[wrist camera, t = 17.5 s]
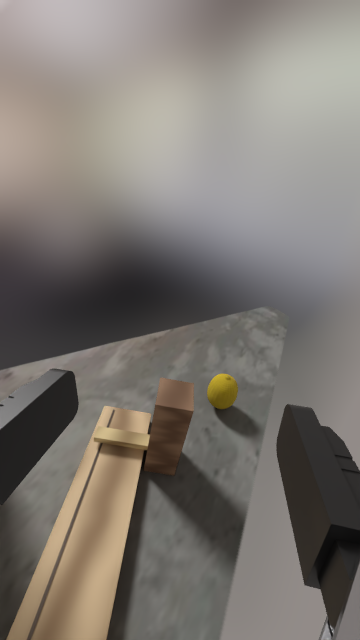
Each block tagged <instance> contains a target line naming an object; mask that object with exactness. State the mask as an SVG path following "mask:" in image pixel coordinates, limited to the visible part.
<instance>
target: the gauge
mask: <svg viewBox="0 0 360 640" xmlns="http://www.w3.org/2000/svg"><path fill="white" fill-rule="evenodd" d="M193 409H194V383H188V382H183V381H177V380H171V379H165V378H160V383H159V388H158V394H157V399H156V404H155V410H154V415H153V421H152V427H151V432H150V435H149V434H143V433H137V432H131V431H125V430H119V429H113V428H107V427H101V426H98V428H97V431H96V433H95V435H94V442H99V443H105V444H111V445H118V446H124V447H130V448H136V449H142V450H147V455H146V460H145V466H144V471H148V472H154V473H161V474H167V475H173V476H174V475H175V471H176V468H177V465H178V461H179V458H180V455H181V451H182V448H183V445H184V441H185V438H186V435H187V431H188V428H189V424H190V421H191V418H192V414H193Z"/></svg>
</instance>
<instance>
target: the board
mask: <svg viewBox="0 0 360 640" xmlns="http://www.w3.org/2000/svg"><path fill="white" fill-rule="evenodd" d="M150 418H151V414H150V413H144V412H138V411H132V410H126V409H120V408H115V407H109V406H104V409H103V411H102V413H101V416H100V418H99V421H98V423H97V425H96V428H95V430H94V432H93V435H92V437H91V440H90V442H89V444H88V447H87V449H86V451H85V454H84V456H83V459H82V461H81V463H80V466H79V468H78V470H77V473H76V475H75V478H74V480H73V482H72V485H71V487H70V489H69V492H68V494H67V497H66V499H65V501H64V504H63V506H62V508H61V511H60V513H59V516H58V518H57V520H56V523H55V525H54V527H53V530H52V532H51V535H50V537H49V539H48V542H47V544H46V546H45V549H44V551H43V554H42V556H41V558H40V561H39V563H38V565H37V568H36V570H35V573H34V575H33V577H32V580H31V582H30V584H29V587H28V589H27V592H26V594H25V596H24V599H23V601H22V603H21V606H20V608H19V611H18V613H17V615H16V618H15V620H14V622H13V625H12V627H11V630H10V632H9V634H8V637H7V639H6V640H107V635H108V630H109V625H110V620H111V615H112V610H113V605H114V600H115V595H116V590H117V585H118V580H119V575H120V570H121V565H122V559H123V554H124V549H125V544H126V539H127V534H128V529H129V524H130V519H131V514H132V509H133V504H134V499H135V494H136V489H137V484H138V479H139V474H140V469H141V464H142V459H143V454H144V450H142V449H136V448H130V447H124V446H118V445H111V444H105V443H99V442H94V435H95V433H96V431H97V428H98V426H101V427H107V428H113V429H119V430H125V431H131V432H137V433H143V434H148V429H149V423H150Z"/></svg>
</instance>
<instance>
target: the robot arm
mask: <svg viewBox="0 0 360 640" xmlns="http://www.w3.org/2000/svg"><path fill="white" fill-rule="evenodd" d="M77 410H78V396H77V389H76V381H75V375H74V373H73V372H72V371H67V370H60V369H50V370H49V371H47V372H46V373H45V374H44V375H42V376H41V377H40V378H38V379H36V380H34V381H32V382H30V383H28V384H25V385H23V386H21V387H20V388H19V389H17V390H16V391H15V392H13V393H12V394H11V395H9V397H8V398H5V399H4V400H3V401H1V402H0V504H1V505H2V504H3V503H4V502H5V501H6V500H7V498H8V497H9V496H10V495H11V494H12V492H13V491H14V490H15V489H16V488H17V486H18V485H19V484H20V483H21V481H22V480H23V479H24V478H25V477H26V475H27V474H28V473H29V472H30V471H31V469H32V468H33V467H34V466H35V465H36V463H37V462H38V461H39V460H40V459H41V457H42V456H43V455H44V454H45V452H46V451H47V450H48V449H49V448H50V446H51V445H52V444H53V443H54V442H55V440H56V439H57V438H58V437H59V436H60V434H61V433H62V432H63V431H64V430H65V428H66V427H67V426H68V425H69V423H70V422H71V421H72V420H73V419H74V417H75V415H76V413H77ZM277 458H278V462H279V467H280V472H281V477H282V481H283V486H284V491H285V495H286V500H287V505H288V509H289V514H290V519H291V524H292V528H293V533H294V538H295V542H296V547H297V552H298V556H299V561H300V565H301V570H302V575H303V580H304V584H305V585H307V586H310V587H314V588H318V589H321V592H322V596H323V600H324V604H325V608H326V612H327V618H326V620H325V623H324V626H323V629H322V632H321V635H320V637H319V640H360V471H359V469H358V467H357V466H356V463H355V462H354V461H353V460H352V456H351V454H350V452H349V450H348V449H347V447H346V445H345V443H344V441H343V440H342V439H341V438H340V437H339V436H338V435H337V434H336V433H335V432H333V430H332V429H331V428H330V427H326V426H321V425H320V423H319V421H318V419H317V417H316V415H315V413H314V411H313V409H312V408H308V407H302V406H296V405H289V404H287V405H286V407H285V409H284V413H283V417H282V421H281V425H280V429H279V433H278V437H277Z"/></svg>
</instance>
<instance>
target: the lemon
mask: <svg viewBox="0 0 360 640" xmlns="http://www.w3.org/2000/svg"><path fill="white" fill-rule="evenodd" d="M237 392H238V387H237V383H236V381H235V380H234V378H233V377H231V376H230V375H228V374H219V375H217V376H215V377H214V378H213V379H212V380H211V382H210V384H209V386H208V391H207V395H208V399H209V402H210V403H211V404H212V405H213V406H214V407H216V408H218V409H226V408H228V407H230V406H231V405H232V404H233V403H234V401H235V400H236V397H237Z"/></svg>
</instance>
